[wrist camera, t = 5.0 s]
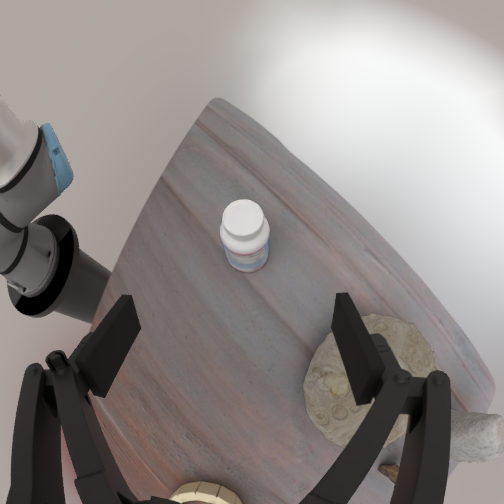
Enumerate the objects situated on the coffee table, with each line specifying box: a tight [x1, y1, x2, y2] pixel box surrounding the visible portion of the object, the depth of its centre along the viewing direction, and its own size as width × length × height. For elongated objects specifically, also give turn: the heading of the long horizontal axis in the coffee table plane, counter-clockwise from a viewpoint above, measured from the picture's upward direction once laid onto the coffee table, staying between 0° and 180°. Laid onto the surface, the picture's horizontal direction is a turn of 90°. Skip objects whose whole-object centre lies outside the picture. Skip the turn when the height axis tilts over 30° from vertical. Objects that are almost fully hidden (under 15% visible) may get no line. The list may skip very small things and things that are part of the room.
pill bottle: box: [220, 200, 270, 272], centre depth 35 cm, size 6×6×11 cm
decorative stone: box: [449, 409, 504, 463], centre depth 21 cm, size 11×6×15 cm, turn 37°
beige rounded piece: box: [303, 313, 436, 449], centre depth 28 cm, size 18×18×10 cm
